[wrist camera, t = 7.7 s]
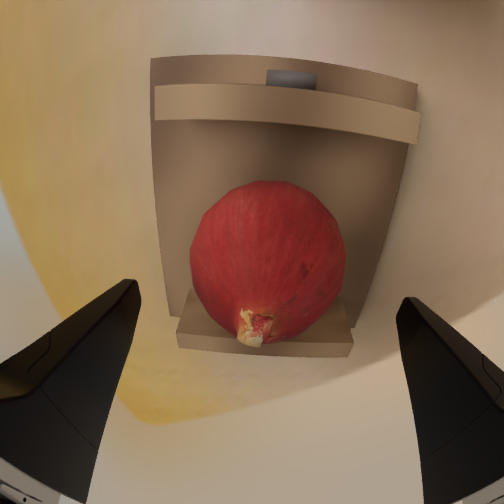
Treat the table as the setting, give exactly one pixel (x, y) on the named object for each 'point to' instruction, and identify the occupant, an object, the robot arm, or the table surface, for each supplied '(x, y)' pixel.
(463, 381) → the robot arm
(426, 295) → the table surface
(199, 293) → the onion
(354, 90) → the cup
